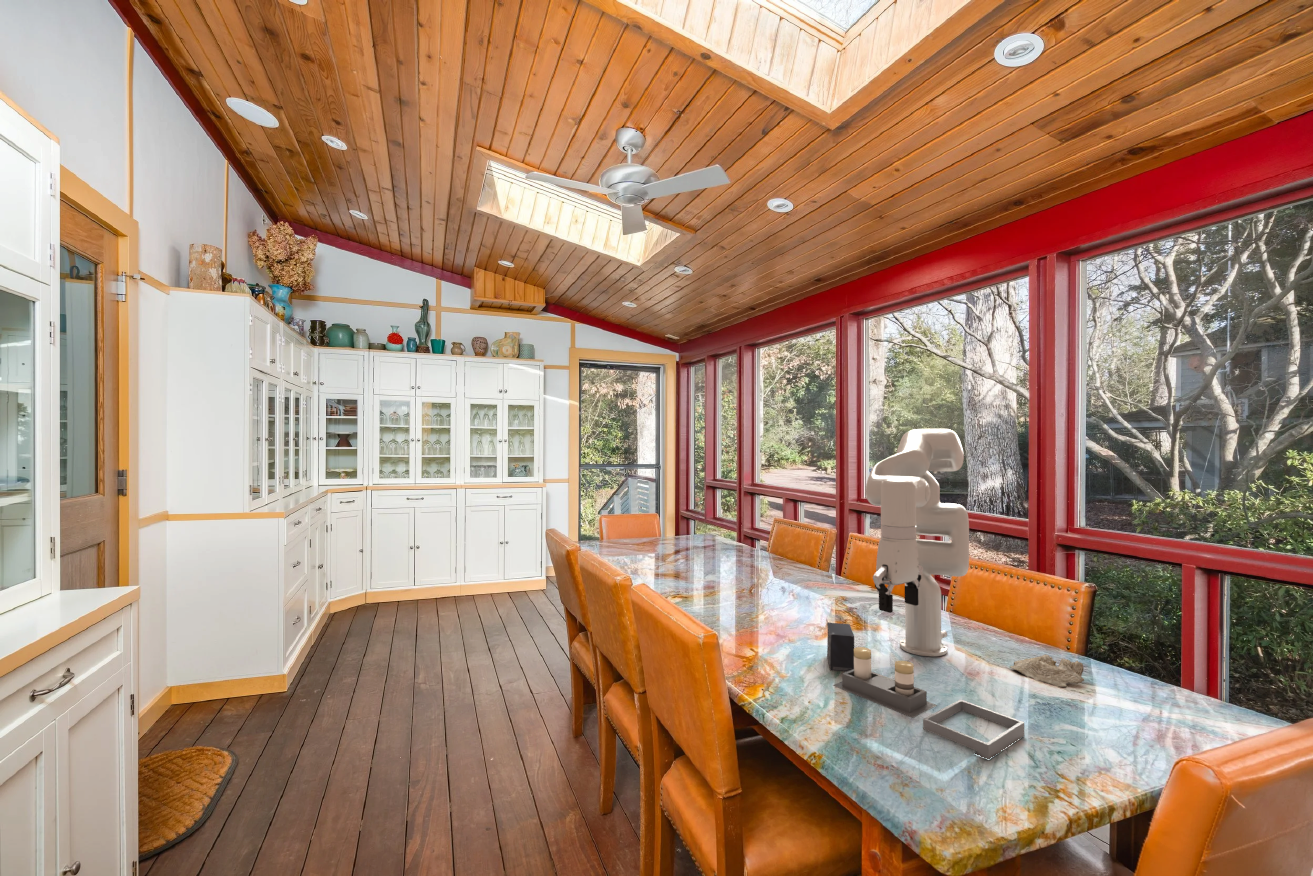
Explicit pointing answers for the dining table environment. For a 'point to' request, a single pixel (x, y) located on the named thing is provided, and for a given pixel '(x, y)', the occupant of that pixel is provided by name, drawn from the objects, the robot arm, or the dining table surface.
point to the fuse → (862, 663)
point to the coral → (1050, 670)
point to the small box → (840, 647)
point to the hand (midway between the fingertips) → (898, 607)
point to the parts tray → (981, 747)
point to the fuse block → (885, 693)
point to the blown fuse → (904, 678)
